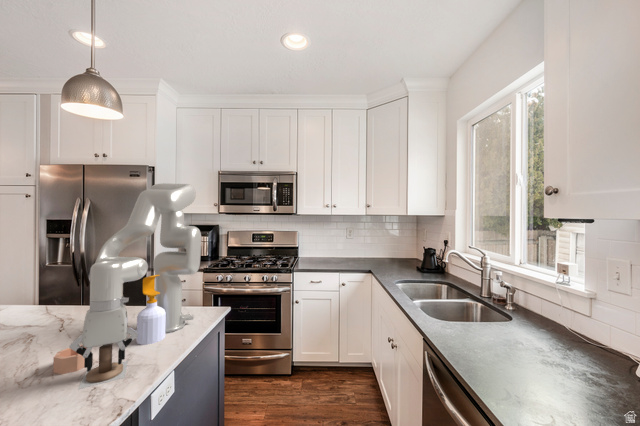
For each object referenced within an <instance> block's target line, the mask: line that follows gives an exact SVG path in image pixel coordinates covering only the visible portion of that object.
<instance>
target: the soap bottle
mask: <svg viewBox="0 0 640 426" xmlns="http://www.w3.org/2000/svg"><path fill="white" fill-rule="evenodd" d="M157 276H160V275H149V276H146V277H143V279H142V294H143V295H144V296H147V298H148V300H146V307H144V308H143V309H142V310H141V311H139V312H138V313H137V315H136V331H137V332H138V336H137V337H136V344H137V345H141V346H143V345H144V346H145V345H152V344H155V343H158V342H161V341H163V340H164V339H165V338H166V333H165V323H166V312H165V310H164V309H163V308H162V307H159V306H157V300H156V295H157V294H160V292H157V291H156V277H157Z"/></svg>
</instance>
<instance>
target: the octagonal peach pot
mask: <svg viewBox="0 0 640 426" xmlns="http://www.w3.org/2000/svg"><path fill="white" fill-rule="evenodd" d="M79 345H80V346H82V347H83V345H82V344H79ZM84 348H86V347H84ZM86 349H87V348H86ZM92 350H93V349H92ZM92 350H91V352H92ZM92 353H93V352H92ZM84 362H85V358H83V356H82V355H80V354H78V353H77V352H76V351H74V350H72V349H71V348H69V347H67V348H64V349H61V350H60V351H57V352H56V353H55V355H54V356H53V370H52V372H53V374H58V375H64V374H65V375H66V374H69V373H70V374H71V373H74V372H78V371H79V370H82V369H85V368H84Z"/></svg>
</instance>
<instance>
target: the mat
mask: <svg viewBox="0 0 640 426" xmlns="http://www.w3.org/2000/svg"><path fill="white" fill-rule="evenodd" d="M128 362H129V360H125V361H122V364H123V371H122V372H121V373H120V374H119V375H117V376H116V377H114V378H112V379H109V380H107V381H103V382H98V383H89V382H87V381H86V375H87V373H88V372H89V371H88V372H87V369H86V371H85V373H84V375H83V378H82V380H81V382H80V384H79V386H78V388H77V390H81V389H85V388H90V387H93V386H98V385H100V384H105V383H109V382H113V381H117V380H121V379H125V377H126V372H127V366H128ZM92 369H93V368H91V370H92Z"/></svg>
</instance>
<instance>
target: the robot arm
mask: <svg viewBox="0 0 640 426" xmlns="http://www.w3.org/2000/svg"><path fill="white" fill-rule="evenodd" d="M196 193H197V192H196V189H195V187H194V186H193V185H191V184H189V183H168V182H167V183H166V182H165V183H156V184H154V185H152V186H151V187H150V189H145V190H143V191H141V192H140V193H139V195H138V197H137V200H136V202H135V204H134V206H133V209H132V212H131V213H130V217H129V219H128V221H127V223H126V225H125V226H124V227H123V228H121V229H119V230H118V231H117V232H115V233H114V234H113V235H112V236H111V237H110V238H108V239H107V240H106V241H105V243H103V245H102V246H101V248H100V249H99V253H98V255H97V257H96V260H95V263H94V264H92V265H91V267H90V272H89V273H90V276H89V308H88V309H87V311H86V313H85V316H84V322H83V326H82V327H83V328H82V334H80V335H79V337H77V338H76V339H75V340H74V341H73V342H71V343H70V344H69V347H68V348H71V349H72V350H74V351H76V352H77V353H78V354H80V355H82V356H83V358H85V362H84V368H83V369H86V370H87V372H88V371H90V370H91V369H93V365H94V364H93V361H94V360H93V358H94V356H93V355H94V353H93V352H91V350H93V348H95V347H100V346H102V345H106V344H117V345H118V347H119V349H118V353H117V362H118V364H121V363H122V362H123V360H125V358H126V348H127V347H128V346H129V345H130V344H131V343H132V342H133V341H134V339H137V336H138V332H137V329H134V328H132V327H131V326H129V325H128V324H129V323H128V322H129V321H128V320H129V319H128V318H129V317H128V309H127V305H126V303H129V299H130V297H125V296H124V294H123V293H124V283H127V282H128V283H130V282H135V281H138V280H140V279H142V278H144V276H145V275H146V274H147V272H148V269H149V264H148V262H147V260H145V259H144V258H141V257H137V256H119V255H120V253H121V252H123V250H124V249H125V248H126V247H128V246H129V245H131V244H133V243H134V242H137V241H139V240H142V239H145V238H147V237H149V236H152V235H153V234H154V233H155V232H156V229H157V226H158V222H159V220H161V223H160V232H159V233H160V234H159V235H160V236H159V243H160V246H162V247H164V248H166V249H185V251H179V250H178V251H174V250H173V251H171V250H170V251H169V250H168V251H163V252H159V253H158V254H157V255H156V256H155V257H154V258H153V262H152V263H153V270H154V274H155V275H160V276H157V277H155V291H157V292H160V294H157V295H156V296H155V299H156V300H157V306H159V307H162V308H163V309H164V310H165V312H166V323H165V334H167V333H172V332H176V331H178V330H180V329H182V328H184V327H185V326H186V321H191V320H194V314H191V313H187V314H183V312H182V311H183V310H182V304H183V303H182V302H183V301H182V299H183V298H182V295H183V283H182V280H181V278H180V275H181V276H184V275H187V276H188V275H189V276H192V275H195V274H196V273H197V272H199V268H200V267H201V266H200V265H201V255H202V254H201V252H202V232H201V230H200V229H199V228H198V227H197V226H195V225H185V213H184V211H183V210H184V209H185V208H188V207H189V206H190V205H192V204H193V203H194V202H195V200H196V197H197V194H196ZM160 218H161V219H160ZM190 314H191V315H190ZM128 334H129V336H128V338H127V335H128ZM80 343H82V344H80ZM80 345H83V347H82V346H80ZM84 347H86V348H87V349H86V348H84Z"/></svg>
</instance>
